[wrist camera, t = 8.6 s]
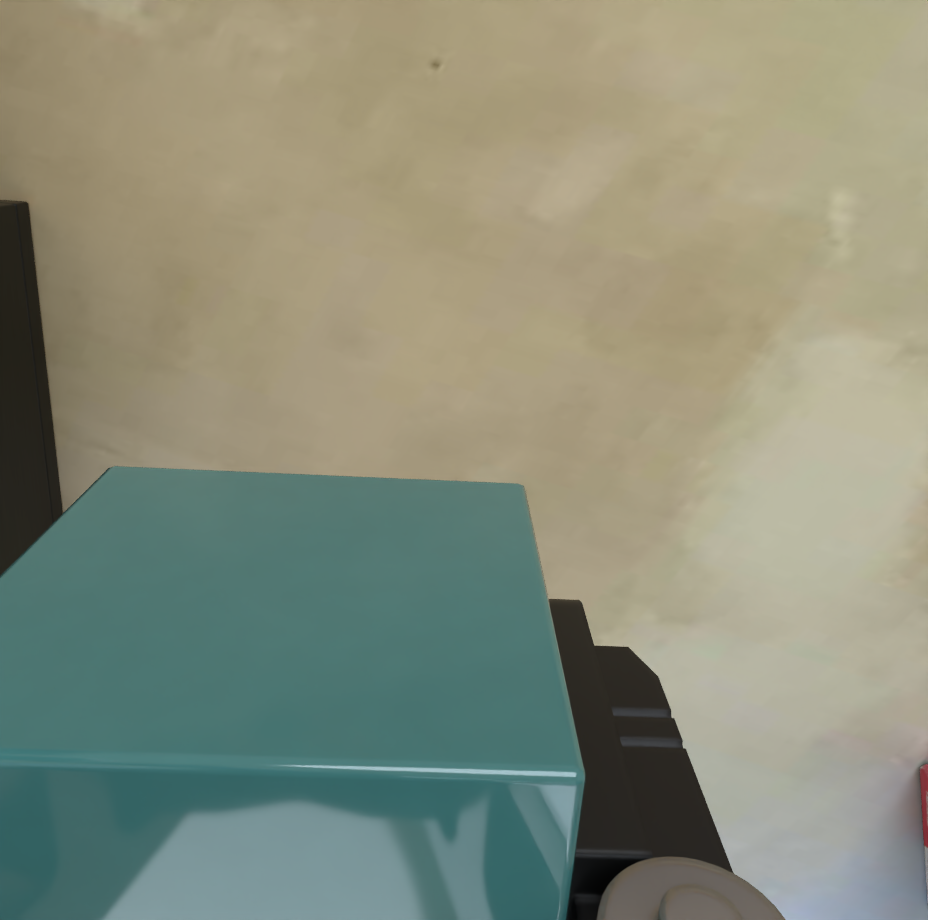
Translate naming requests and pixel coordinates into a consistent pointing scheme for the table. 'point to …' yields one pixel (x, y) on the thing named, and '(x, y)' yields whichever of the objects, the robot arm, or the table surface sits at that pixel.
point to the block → (285, 705)
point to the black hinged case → (23, 396)
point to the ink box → (925, 813)
